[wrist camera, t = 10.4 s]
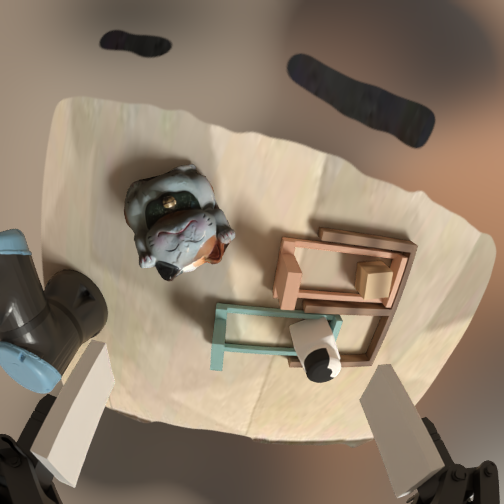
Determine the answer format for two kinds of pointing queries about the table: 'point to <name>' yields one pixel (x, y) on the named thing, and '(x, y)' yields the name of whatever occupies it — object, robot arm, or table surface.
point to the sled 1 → (221, 346)
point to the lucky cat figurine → (176, 222)
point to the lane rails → (361, 307)
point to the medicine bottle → (316, 349)
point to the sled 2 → (289, 291)
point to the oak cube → (373, 279)
